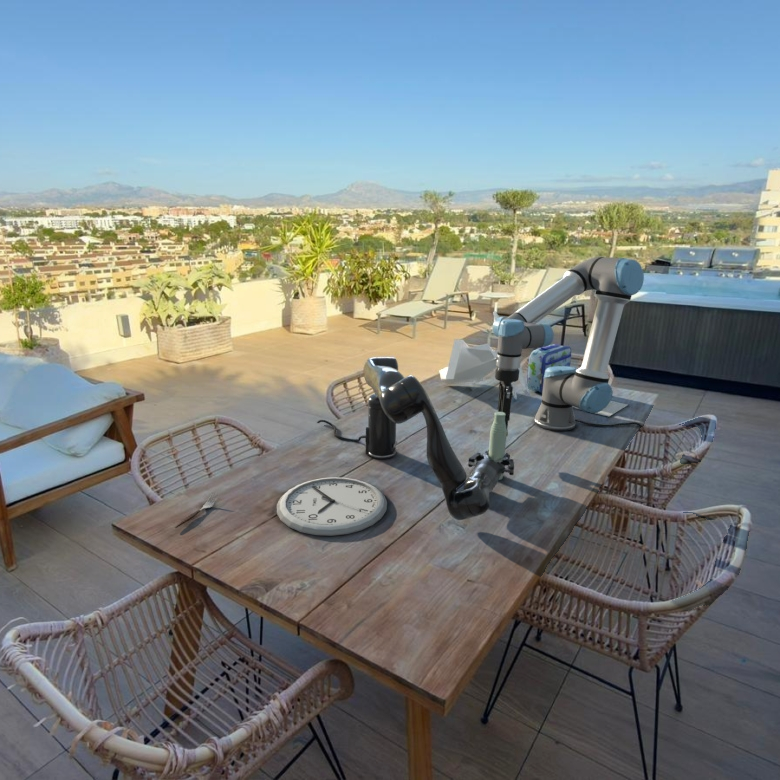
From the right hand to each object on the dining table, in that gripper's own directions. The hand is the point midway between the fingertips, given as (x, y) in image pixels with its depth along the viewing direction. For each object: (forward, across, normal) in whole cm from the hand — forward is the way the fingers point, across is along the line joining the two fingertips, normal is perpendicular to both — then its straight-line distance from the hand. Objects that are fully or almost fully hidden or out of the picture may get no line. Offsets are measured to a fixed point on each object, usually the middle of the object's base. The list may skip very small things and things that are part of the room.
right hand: (501, 435), depth 175 cm
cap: (-1, 0, 0) cm, 1 cm away
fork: (+8, +49, -84) cm, 98 cm away
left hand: (0, +15, -3) cm, 15 cm away
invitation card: (+6, -55, +50) cm, 75 cm away
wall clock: (+8, +40, -50) cm, 64 cm away
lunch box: (+6, -79, +32) cm, 85 cm away
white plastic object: (+6, -69, -1) cm, 69 cm away
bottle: (+7, +18, -3) cm, 19 cm away
